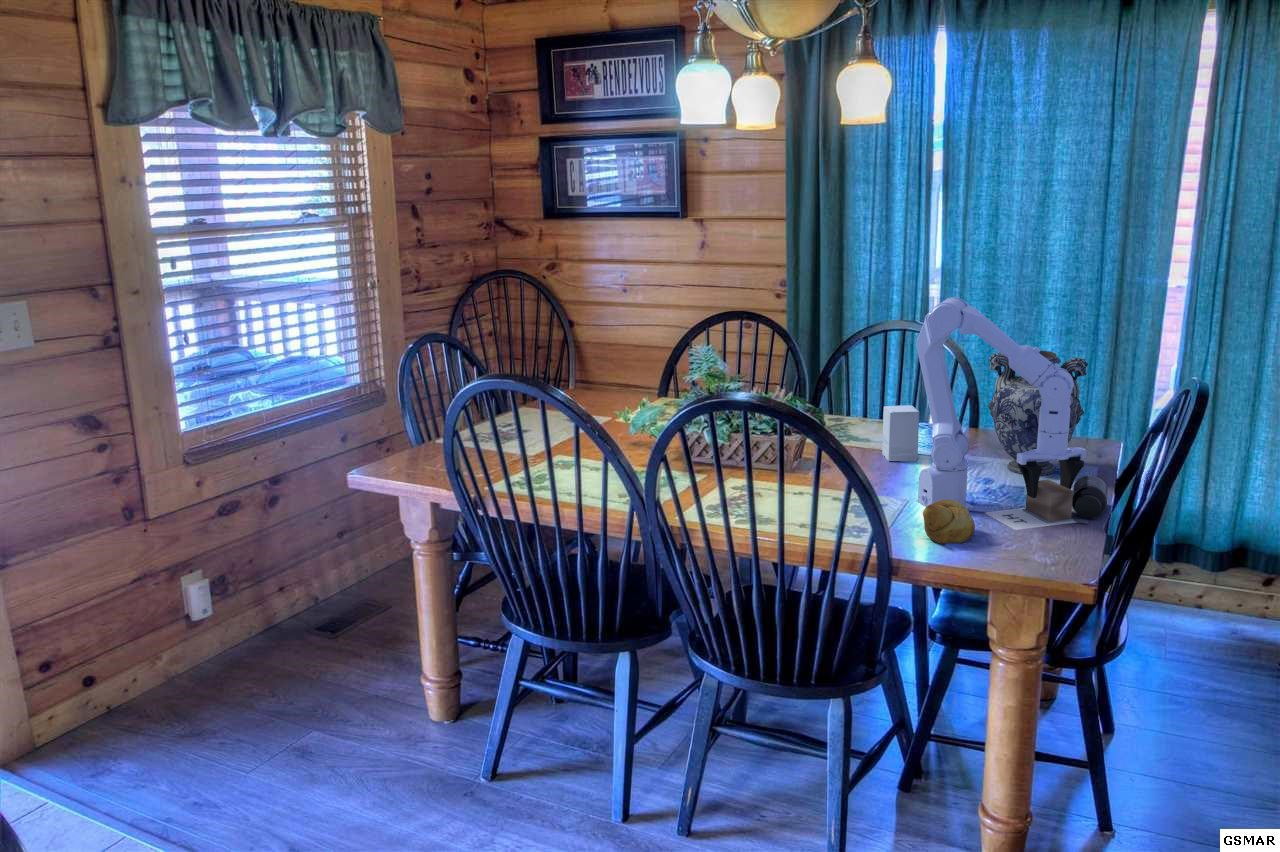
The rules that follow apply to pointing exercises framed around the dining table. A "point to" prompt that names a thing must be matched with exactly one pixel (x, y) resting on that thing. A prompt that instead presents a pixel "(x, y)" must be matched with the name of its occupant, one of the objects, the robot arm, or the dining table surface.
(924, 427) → the dining table surface
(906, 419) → the supplement box
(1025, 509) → the pad
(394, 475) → the dining table surface
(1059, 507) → the walnut block
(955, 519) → the bread roll
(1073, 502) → the supplement bottle
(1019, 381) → the decorative vase
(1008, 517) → the board
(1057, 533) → the dining table surface
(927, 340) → the robot arm
